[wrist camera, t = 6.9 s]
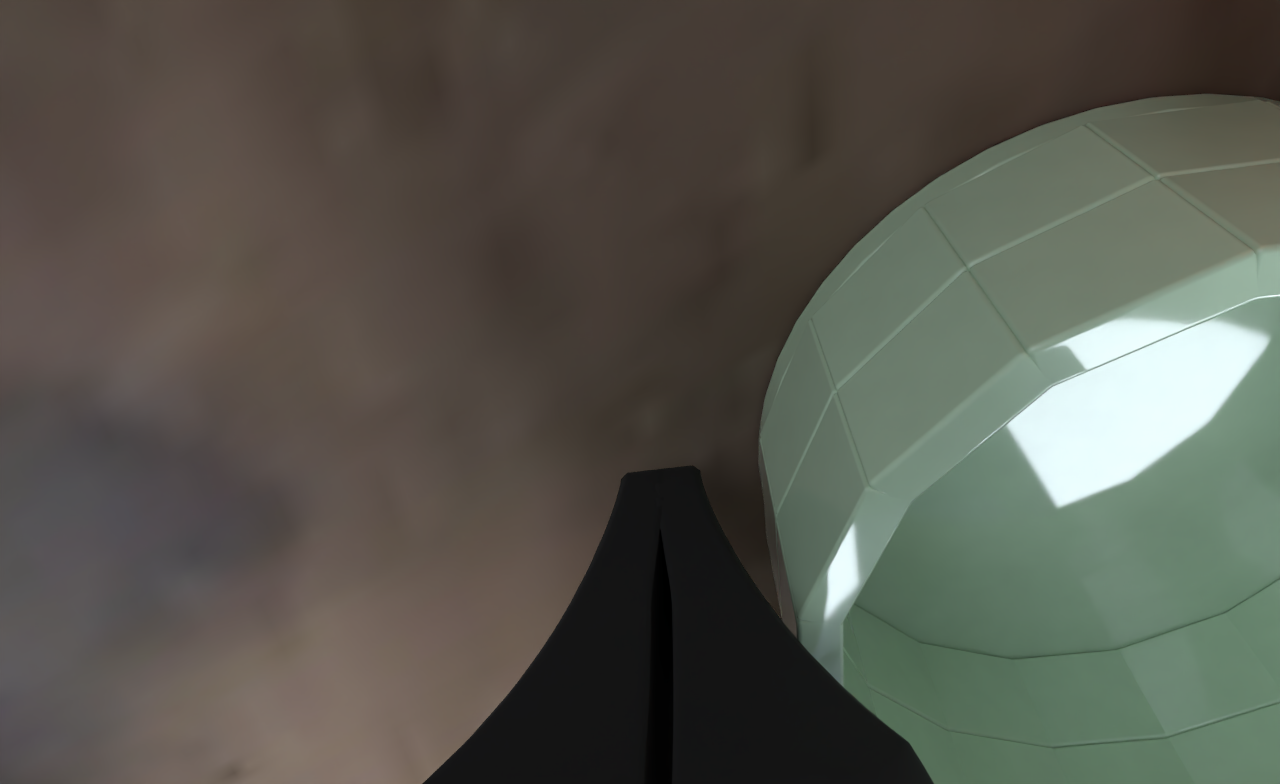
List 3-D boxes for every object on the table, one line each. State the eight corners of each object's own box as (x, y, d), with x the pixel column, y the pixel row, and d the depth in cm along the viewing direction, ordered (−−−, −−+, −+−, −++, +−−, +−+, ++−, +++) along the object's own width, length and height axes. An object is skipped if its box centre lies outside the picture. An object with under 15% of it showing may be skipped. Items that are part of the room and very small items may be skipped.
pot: (1335, 621, 18) (1520, 840, 14) (773, 674, 19) (810, 896, 15) (1589, 38, 12) (2035, 155, 8) (735, 150, 12) (781, 306, 9)
